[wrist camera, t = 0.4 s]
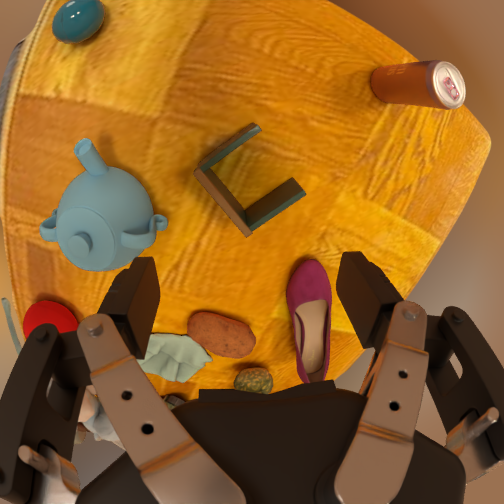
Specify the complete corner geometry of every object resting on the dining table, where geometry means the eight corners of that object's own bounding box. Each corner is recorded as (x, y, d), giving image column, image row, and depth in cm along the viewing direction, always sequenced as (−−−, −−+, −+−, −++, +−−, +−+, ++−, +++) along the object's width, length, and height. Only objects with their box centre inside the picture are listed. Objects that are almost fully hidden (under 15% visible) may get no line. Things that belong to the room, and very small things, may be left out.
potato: (246, 347, 54) (244, 372, 47) (186, 326, 52) (178, 349, 46) (260, 322, 51) (260, 345, 45) (196, 298, 50) (188, 320, 43)
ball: (116, -7, 21) (89, -18, 14) (113, 37, 26) (84, 33, 19) (73, 9, 21) (43, 4, 14) (71, 50, 25) (39, 52, 19)
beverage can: (386, 110, 34) (451, 120, 21) (361, 82, 32) (423, 77, 19) (406, 88, 32) (472, 92, 19) (383, 60, 30) (447, 50, 17)
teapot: (69, 247, 41) (35, 289, 30) (60, 134, 32) (9, 151, 21) (172, 257, 44) (156, 307, 33) (177, 131, 34) (153, 142, 23)
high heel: (328, 248, 45) (356, 293, 35) (328, 345, 58) (345, 389, 47) (278, 259, 45) (294, 308, 35) (291, 354, 58) (303, 400, 47)
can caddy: (253, 122, 34) (258, 125, 28) (295, 181, 39) (308, 196, 33) (198, 162, 37) (192, 173, 30) (243, 216, 41) (246, 238, 35)
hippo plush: (104, 358, 40) (159, 413, 48) (48, 352, 46) (95, 399, 55) (58, 441, 24) (131, 484, 32) (11, 408, 31) (68, 452, 39)
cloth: (225, 356, 56) (225, 364, 54) (169, 390, 63) (168, 398, 61) (146, 306, 48) (143, 314, 46) (101, 352, 55) (98, 360, 52)
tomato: (42, 279, 44) (15, 314, 34) (93, 315, 49) (74, 356, 39) (34, 311, 48) (13, 344, 38) (79, 342, 53) (63, 379, 43)
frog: (219, 401, 65) (219, 355, 58) (265, 397, 68) (275, 352, 61) (224, 437, 55) (225, 397, 47) (275, 432, 57) (289, 391, 50)
